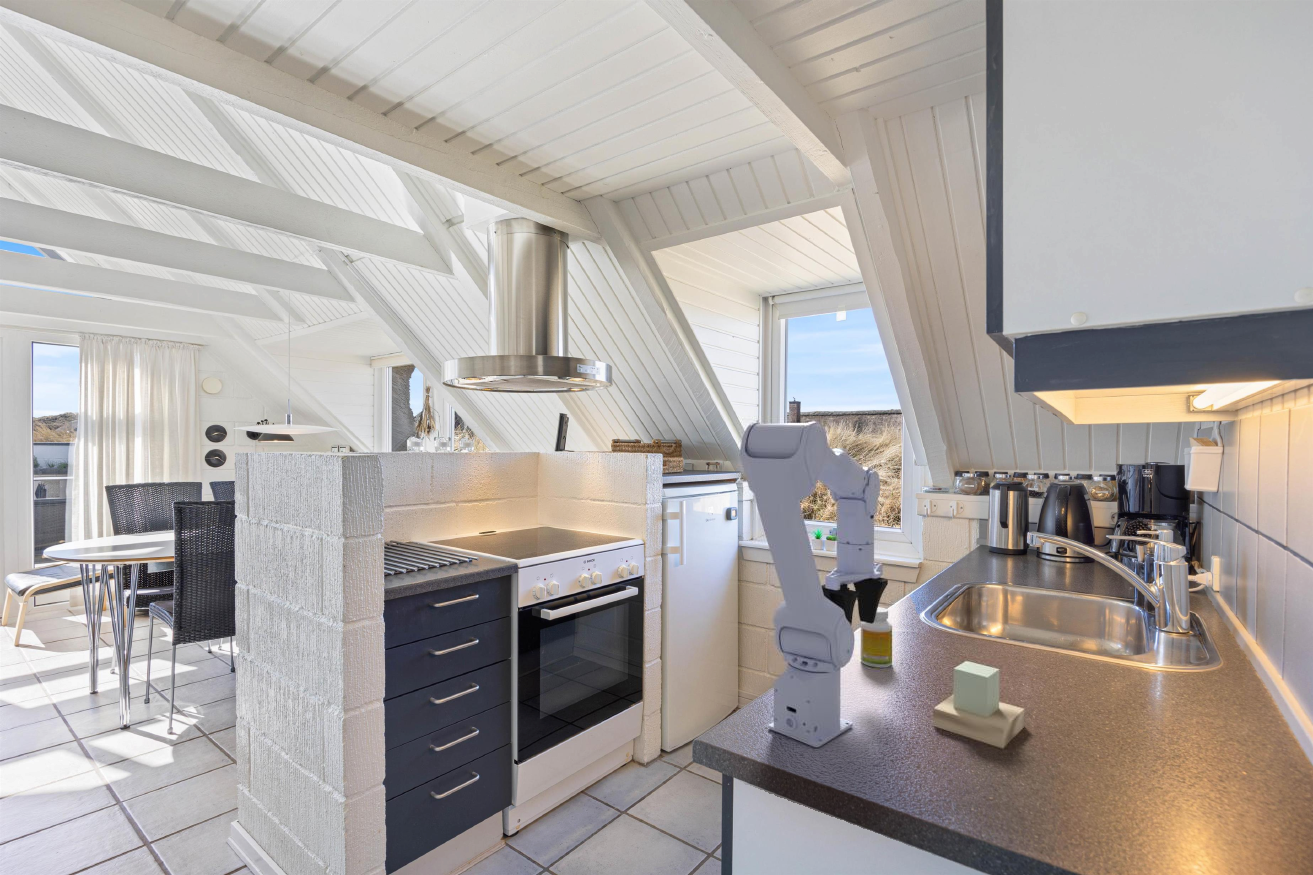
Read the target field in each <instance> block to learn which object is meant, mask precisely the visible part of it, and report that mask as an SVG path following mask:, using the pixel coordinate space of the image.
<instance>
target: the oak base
mask: <svg viewBox="0 0 1313 875" xmlns="http://www.w3.org/2000/svg"><path fill="white" fill-rule="evenodd" d="M953 701H954V693H953V694H951V695H950V696H949V697H947V698H946V699H944V700H943V701H941V702H940V703H939V704H937V705H936V706H935V707H934V708H933V727H936V728H939V729H941V730H945V731H948V732H951V733H954V734H957V735H960V736H963V737H966V738H968V739H969V738H970V739H973V740H975V741H978V742H982V743H985V744H988V745H991V746H993V747H996V748H1000V749H1004V748H1006V746H1008V744H1009V743H1010V742H1011V741H1012V740H1013V739H1014V738H1015V737H1016V736H1017V735H1018V734H1019V733H1020V732H1021V731H1022V730H1023V728H1025V708H1023V707H1019V706H1016V705H1012V704H1009V703H1005V702H1001V701H999V709H997V710H996V711H995V712H994V713H992V714H991V715H990V716H989V717H983V716H980V715H977V714H974V713H970V712H967V711H964V710H961V709H957V708H954V707H953Z"/></svg>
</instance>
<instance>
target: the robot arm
mask: <svg viewBox="0 0 1313 875" xmlns="http://www.w3.org/2000/svg"><path fill="white" fill-rule="evenodd" d="M740 443H741V444H740V447H739V448H740V449H739V453H738V455H739V458H740V461H741V465H742V469H743V471H744V475H745V478H746V482H747V485H748V488H749V491H750V492H752V493H753V494H754V498H755V505H756V507H757V510H758V514H759V518H760V521H761V525H762V527H763V528H762V529H763V530H764V534H765V538H766V541H767V544H768V548H769V552H770V556H771V558H772V561H773V565H774V568H775V572H776V575H777V578H778V582H779V584H780V585H779V586H780V588H781V592H782V595H783V598H784V600H783V601H781V603H779V605H778V606H777V608H776V610H775V612H774V616H773V618H772V622H773V625H774V627H773V628H774V636H773V637H774V642H775V645H776V648H777V651H778V652H779V653H780V654H781V655H783V656H782V660H783V662H785V663H787V664H786V667H785V670H784V672H782V673H781V674H780V675H779V676H778V677H777V678H776V679H775V682H774V686H773V722H771V723H769V724H768V729H769V730H772V731H774V732H777V733H779V734H782V735H784V736H786V737H788V738H792V739H794V740H796V741H798V742H801V743H804V744H806V745H809V746H811V747H813V748H820V747H821V746H823V745H824V744H826V743H828V742H829V741H831V740H832V739H834V738H836V737H837V736H839V735H840V734H843V733H844V732H846V731H847V730H848V729H851V728H852V727H853V726H854V723H853V721H850V720H847V719H845V718H842V717H841V668H844V667H845V666H847V665H848V664H849V662H850V661H851V659H852V657H853V654H854V649H855V632H854V631H855V630H854V629H853V626H852V624H853V617H854V616H853V615H854V608H855V605H856V601H857V608H858V617H859V622H866V623H871V624H872V623H874V620H875V616H876V612H877V608H878V607H879V605H880V601H881V597H882V595H883V593H884V592H885V590H886V588H887V586H888V585H889V579H888V578H885V577H882V576H883V571H884V570H883V563H880V562H875V515H876V514H877V513H878V502H879V498H880V493H881V481H880V476H879V473H878V472H877V471H876V470H874V469H873V468H872V467H870V466H863V465H861V464H860V463H859V462H858V461H857V460H856V459H854V458H853V457H852V456H850V454H848V453H847V450H846V449H845V448H843V447H835V448H831V447H830V445H829V444H828V438H827V432H826V429H825V427H823V426H822V424H820V422H818V421H810V422H789V423H788V422H787V423H786V422H785V423H760V422H752V423H750V424H749V425H748V426H747V427H746V429H745V430H744V433H743V435H742V438H741V442H740ZM818 482H820V483H822V484H823V485H824V486H825V487H827V488H828V490H829V491H830V492H829V493H830V497H831V498H832V500H833V502H836V567H835V568H834V569H833V570H832V571H831V572H830V573H829V574H827V575H825V578H824V579H825V582H824V583H825V584H822V583H821V580H820V576H819V572H818V569H817V564H816V560H815V557H814V554H813V549H812V545H811V541H810V538H809V534H808V530H807V526H806V523H805V522H806V521H805V519H804V514H803V511H802V508H801V504H800V503H801V501H803V500H804V499H806V498H808V497H810V496H812V495H813V494H814V492H815V489H816V486H817V485H818ZM849 585H853V587H854V589H853V590H852V589H850V587H848V586H849Z"/></svg>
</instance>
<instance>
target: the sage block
mask: <svg viewBox="0 0 1313 875" xmlns="http://www.w3.org/2000/svg"><path fill="white" fill-rule="evenodd" d="M953 694H954V701H953V707H954V708H957V709H961V710H964V711H967V712H970V713H974V714H977V715H980V716H983V717H989V716H990V715H991V714H992V713H994V712H995V711H996V710H997V709H999V702H1000V669H999V668H996V667H992V666H988V665H984V664H980V663H976V662H972V661H969V660H968V661H967V660H966V661H964V662H962V663H960V664H959V665H957V666H956V667H954V668H953Z"/></svg>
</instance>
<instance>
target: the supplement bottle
mask: <svg viewBox="0 0 1313 875" xmlns="http://www.w3.org/2000/svg"><path fill="white" fill-rule="evenodd" d="M888 619H889V610H888V608H885V607H880V606H878V608H877V612H876V616H875V620H874V623H872V624H871V623H866V622H862V621H860V661H861V663H862V664H864V665H866V666H868V667H871V668H876V669H877V668H878V669H880V668H881V669H882V668H883V669H885V668H889V667H891V666H892V665H893V625H892V623H891V622H890V620H888Z"/></svg>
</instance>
